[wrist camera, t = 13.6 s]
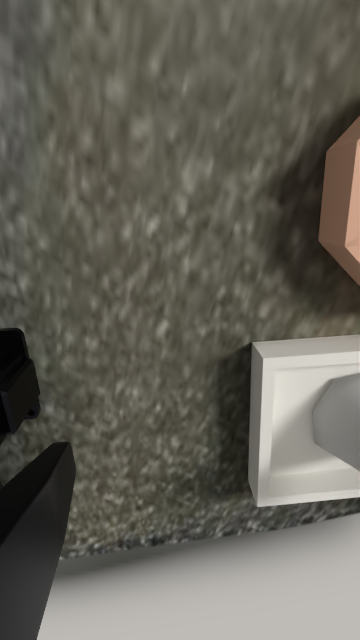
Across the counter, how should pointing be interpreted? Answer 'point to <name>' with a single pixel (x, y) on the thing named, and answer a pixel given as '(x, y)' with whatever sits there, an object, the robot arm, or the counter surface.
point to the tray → (296, 420)
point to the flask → (340, 420)
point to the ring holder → (342, 201)
